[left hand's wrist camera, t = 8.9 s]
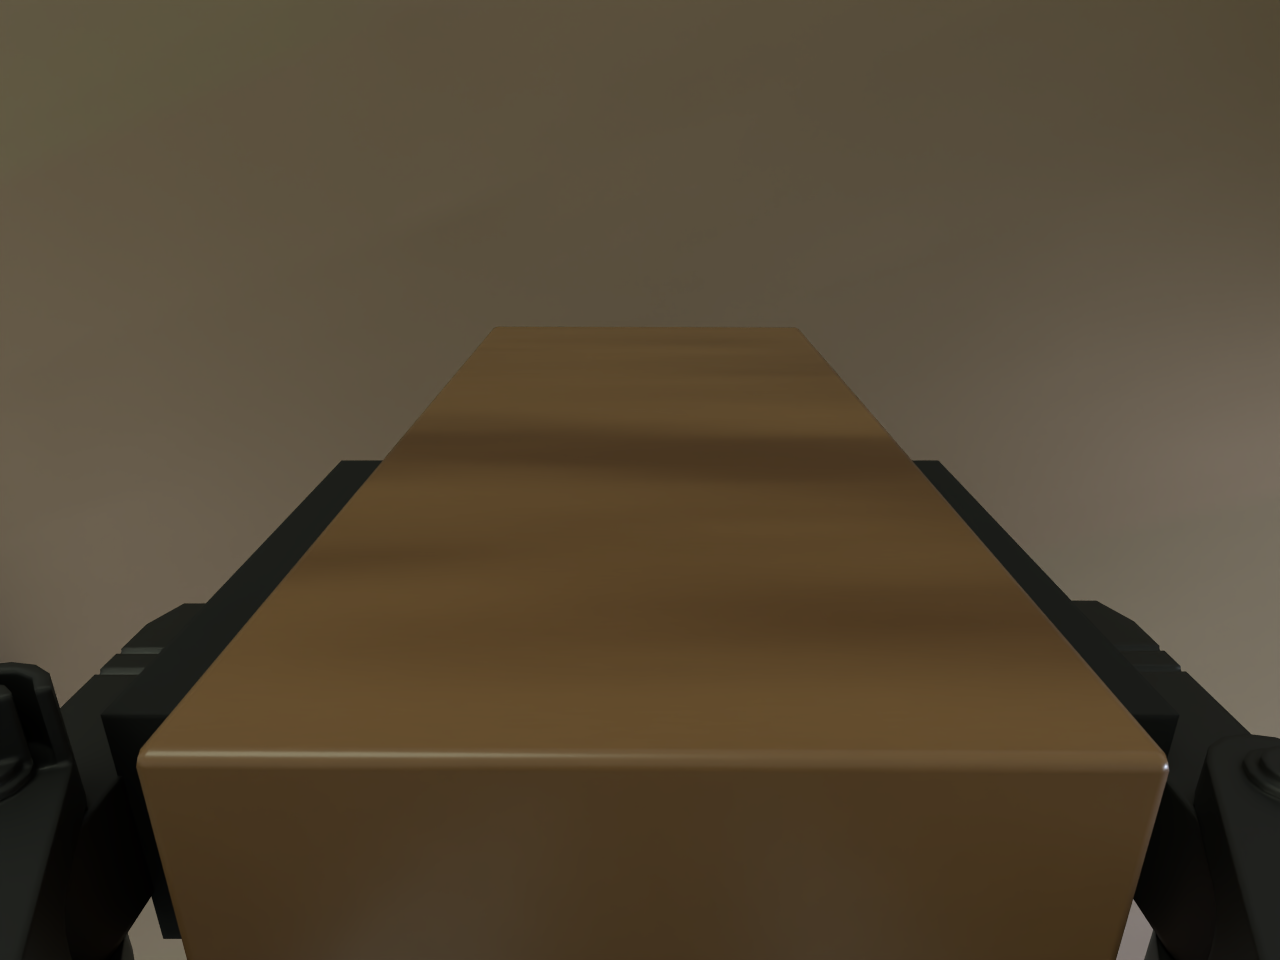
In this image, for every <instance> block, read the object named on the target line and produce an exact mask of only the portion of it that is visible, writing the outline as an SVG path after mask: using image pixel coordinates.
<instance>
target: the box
mask: <svg viewBox="0 0 1280 960" xmlns="http://www.w3.org/2000/svg"><path fill="white" fill-rule="evenodd" d="M136 768H137V772H138V775H139V779H140V783H141V787H142V790H143V794H144V798H145V802H146V806H147V809H148V813H149V817H150V821H151V825H152V828H153V832H154V836H155V840H156V843H157V847H158V851H159V855H160V859H161V862H162V866H163V870H164V874H165V878H166V881H167V885H168V889H169V893H170V896H171V900H172V904H173V908H174V912H175V915H176V919H177V923H178V927H179V930H180V934H181V938H182V942H183V946H184V949H185V953H186V957H187V960H1116V957H1117V954H1118V950H1119V947H1120V943H1121V940H1122V936H1123V933H1124V929H1125V926H1126V922H1127V918H1128V915H1129V911H1130V908H1131V904H1132V901H1133V897H1134V894H1135V890H1136V887H1137V883H1138V880H1139V876H1140V873H1141V869H1142V866H1143V862H1144V858H1145V855H1146V851H1147V848H1148V844H1149V841H1150V837H1151V834H1152V830H1153V827H1154V823H1155V820H1156V816H1157V813H1158V809H1159V805H1160V802H1161V798H1162V795H1163V791H1164V788H1165V784H1166V781H1167V777H1168V774H1169V766H1168V761H1167V758H1166V755H1165V753H1164V752H1163V751H1162V750H1161V748H1160V747H1159V746H1158V745H1157V744H1156V743H1155V741H1154V740H1153V739H1152V738H1151V737H1150V736H1149V734H1148V733H1147V732H1146V731H1145V730H1144V729H1143V728H1142V726H1141V725H1140V724H1139V723H1138V722H1137V721H1136V719H1135V718H1134V717H1133V716H1132V715H1131V714H1130V712H1129V711H1128V710H1127V709H1126V708H1125V707H1124V706H1123V704H1122V703H1121V702H1120V701H1119V700H1118V699H1117V697H1116V696H1115V695H1114V694H1113V693H1112V692H1111V690H1110V689H1109V688H1108V687H1107V686H1106V685H1105V684H1104V682H1103V681H1102V680H1101V679H1100V678H1099V677H1098V675H1097V674H1096V673H1095V672H1094V671H1093V670H1092V668H1091V667H1090V666H1089V665H1088V664H1087V663H1086V662H1085V660H1084V659H1083V658H1082V657H1081V656H1080V655H1079V653H1078V652H1077V651H1076V650H1075V649H1074V648H1073V646H1072V645H1071V644H1070V643H1069V642H1068V641H1067V640H1066V638H1065V637H1064V636H1063V635H1062V634H1061V633H1060V631H1059V630H1058V629H1057V628H1056V627H1055V626H1054V624H1053V623H1052V622H1051V621H1050V620H1049V619H1048V618H1047V616H1046V615H1045V614H1044V613H1043V612H1042V611H1041V609H1040V608H1039V607H1038V606H1037V605H1036V604H1035V602H1034V601H1033V600H1032V599H1031V598H1030V597H1029V596H1028V594H1027V593H1026V592H1025V591H1024V590H1023V589H1022V587H1021V586H1020V585H1019V584H1018V583H1017V582H1016V580H1015V579H1014V578H1013V577H1012V576H1011V575H1010V574H1009V572H1008V571H1007V570H1006V569H1005V568H1004V567H1003V565H1002V564H1001V563H1000V562H999V561H998V560H997V558H996V557H995V556H994V555H993V554H992V553H991V552H990V550H989V549H988V548H987V547H986V546H985V545H984V543H983V542H982V541H981V540H980V539H979V538H978V536H977V535H976V534H975V533H974V532H973V531H972V530H971V528H970V527H969V526H968V525H967V524H966V523H965V521H964V520H963V519H962V518H961V517H960V516H959V514H958V513H957V512H956V511H955V510H954V509H953V508H952V506H951V505H950V504H949V503H948V502H947V501H946V499H945V498H944V497H943V496H942V495H941V494H940V492H939V491H938V490H937V489H936V488H935V487H934V486H933V484H932V483H931V482H930V481H929V480H928V479H927V477H926V476H925V475H924V474H923V473H922V472H921V470H920V469H919V468H918V467H917V466H916V465H915V464H914V462H913V461H912V460H911V459H910V458H909V457H908V455H907V454H906V453H905V452H904V451H903V450H902V448H901V447H900V446H899V445H898V444H897V443H896V442H895V440H894V439H893V438H892V437H891V436H890V435H889V433H888V432H887V431H886V430H885V429H884V428H883V426H882V425H881V424H880V423H879V422H878V421H877V420H876V418H875V417H874V416H873V415H872V414H871V413H870V411H869V410H868V409H867V408H866V407H865V406H864V404H863V403H862V402H861V401H860V400H859V399H858V398H857V396H856V395H855V394H854V393H853V392H852V391H851V389H850V388H849V387H848V386H847V385H846V384H845V382H844V381H843V380H842V379H841V378H840V377H839V376H838V374H837V373H836V372H835V371H834V370H833V369H832V367H831V366H830V365H829V364H828V363H827V362H826V360H825V359H824V358H823V357H822V356H821V355H820V354H819V352H818V351H817V350H816V349H815V348H814V347H813V345H812V344H811V343H810V342H809V341H808V340H807V338H806V337H805V336H804V335H803V334H802V333H801V332H800V330H799V329H797V328H734V327H496V328H494V329H493V330H492V331H491V332H490V334H489V335H488V336H487V337H486V338H485V339H484V341H483V342H482V343H481V344H480V345H479V347H478V348H477V349H476V350H475V351H474V353H473V354H472V355H471V356H470V357H469V359H468V360H467V361H466V362H465V363H464V364H463V366H462V367H461V368H460V369H459V370H458V372H457V373H456V374H455V375H454V376H453V378H452V379H451V380H450V381H449V382H448V384H447V385H446V386H445V387H444V388H443V389H442V391H441V392H440V393H439V394H438V395H437V397H436V398H435V399H434V400H433V401H432V403H431V404H430V405H429V406H428V407H427V409H426V410H425V411H424V412H423V413H422V414H421V416H420V417H419V418H418V419H417V420H416V422H415V423H414V424H413V425H412V426H411V428H410V429H409V430H408V431H407V432H406V434H405V435H404V436H403V437H402V438H401V439H400V441H399V442H398V443H397V444H396V445H395V447H394V448H393V449H392V450H391V451H390V453H389V454H388V455H387V456H386V457H385V459H384V460H383V461H382V462H381V463H380V464H379V466H378V467H377V468H376V469H375V470H374V472H373V473H372V474H371V475H370V476H369V478H368V479H367V480H366V481H365V482H364V484H363V485H362V486H361V487H360V488H359V489H358V491H357V492H356V493H355V494H354V495H353V497H352V498H351V499H350V500H349V501H348V503H347V504H346V505H345V506H344V507H343V509H342V510H341V511H340V512H339V513H338V514H337V516H336V517H335V518H334V519H333V520H332V522H331V523H330V524H329V525H328V526H327V528H326V529H325V530H324V531H323V532H322V534H321V535H320V536H319V537H318V538H317V539H316V541H315V542H314V543H313V544H312V545H311V547H310V548H309V549H308V550H307V551H306V553H305V554H304V555H303V556H302V557H301V559H300V560H299V561H298V562H297V563H296V564H295V566H294V567H293V568H292V569H291V570H290V572H289V573H288V574H287V575H286V576H285V578H284V579H283V580H282V581H281V582H280V584H279V585H278V586H277V587H276V588H275V589H274V591H273V592H272V593H271V594H270V595H269V597H268V598H267V599H266V600H265V601H264V603H263V604H262V605H261V606H260V607H259V609H258V610H257V611H256V612H255V613H254V614H253V616H252V617H251V618H250V619H249V620H248V622H247V623H246V624H245V625H244V626H243V628H242V629H241V630H240V631H239V632H238V634H237V635H236V636H235V637H234V638H233V639H232V641H231V642H230V643H229V644H228V645H227V647H226V648H225V649H224V650H223V651H222V653H221V654H220V655H219V656H218V657H217V659H216V660H215V661H214V662H213V663H212V664H211V666H210V667H209V668H208V669H207V670H206V672H205V673H204V674H203V675H202V676H201V678H200V679H199V680H198V681H197V682H196V684H195V685H194V686H193V687H192V688H191V690H190V691H189V692H188V693H187V694H186V695H185V697H184V698H183V699H182V700H181V701H180V703H179V704H178V705H177V706H176V707H175V709H174V710H173V711H172V712H171V713H170V715H169V716H168V717H167V718H166V719H165V720H164V722H163V723H162V724H161V725H160V726H159V728H158V729H157V730H156V731H155V732H154V734H153V735H152V736H151V737H150V738H149V740H148V741H147V742H146V743H145V744H144V745H143V747H142V748H141V749H140V752H139V755H138V758H137V765H136Z"/></svg>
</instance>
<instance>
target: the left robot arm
mask: <svg viewBox="0 0 1280 960" xmlns="http://www.w3.org/2000/svg"><path fill="white" fill-rule="evenodd" d="M381 462H382V461H341V462H340V463H339V464H338V465H337V466H336V467H335V468H334V469H333V470H332V471H331V472H330V473H329V474H328V475H327V476H326V478H325V479H324V480H323V481H322V482H321V483H320V484H319V485H318V486H317V487H316V488H315V489H314V490H313V491H312V492H311V493H310V494H309V495H308V497H307V498H306V499H305V500H304V501H303V502H302V503H301V504H300V505H299V506H298V507H297V508H296V509H295V510H294V511H293V512H292V513H291V514H290V515H289V517H288V518H287V519H286V520H285V521H284V522H283V523H282V524H281V525H280V526H279V527H278V528H277V529H276V530H275V531H274V532H273V533H272V534H271V536H270V537H269V538H268V539H267V540H266V541H265V542H264V543H263V544H262V545H261V546H260V547H259V548H258V549H257V550H256V551H255V552H254V553H253V554H252V556H251V557H250V558H249V559H248V560H247V561H246V562H245V563H244V564H243V565H242V566H241V567H240V568H239V569H238V570H237V571H236V572H235V573H234V575H233V576H232V577H231V578H230V579H229V580H228V581H227V582H226V583H225V584H224V585H223V586H222V587H221V588H220V589H219V590H218V591H217V592H216V593H215V595H214V596H213V597H212V598H211V599H210V600H209V601H208V602H207V603H206V604H182V605H181V606H179V607H177V608H175V609H173V610H172V611H170V612H168V613H166V614H164V615H163V616H161V617H159V618H157V619H156V620H154V621H152V622H150V623H148V624H147V625H146V626H145V627H143V628H142V629H141V630H140V631H139V632H138V633H137V634H136V635H135V636H134V637H133V638H132V639H131V640H130V641H129V642H128V643H127V644H126V645H125V646H124V647H123V648H122V649H121V654H116V655H115V656H114V657H113V658H112V659H110V660H109V661H108V662H107V663H106V664H105V665H104V666H103V667H102V668H101V669H100V675H94V676H93V677H92V678H91V679H90V680H89V681H88V682H87V683H86V684H85V685H84V686H83V687H82V688H81V689H80V690H79V691H77V692H76V693H75V694H74V695H73V696H72V697H71V698H70V699H69V700H68V701H67V702H66V703H65V704H64V705H63V706H62V707H61V708H60V707H59V704H58V700H57V697H56V694H55V691H54V687H53V684H52V681H51V677H50V674H49V673H48V672H46V671H45V670H43V669H41V668H40V667H38V666H37V665H32V664H23V663H14V662H9V663H0V960H134V955H133V949H132V946H131V942H130V939H129V936H128V931H129V930H130V928H131V927H132V925H133V924H134V922H135V920H136V919H137V917H138V916H139V914H140V913H141V911H142V910H143V908H144V907H145V905H146V904H147V902H148V901H149V899H150V897H151V896H152V900H153V904H154V907H155V911H156V914H157V918H158V921H159V925H160V928H161V932H162V935H163V939H182V938H181V934H180V930H179V927H178V923H177V919H176V915H175V912H174V908H173V904H172V900H171V896H170V893H169V889H168V885H167V881H166V878H165V874H164V870H163V866H162V862H161V859H160V855H159V851H158V847H157V843H156V840H155V836H154V832H153V828H152V825H151V821H150V817H149V813H148V809H147V806H146V802H145V798H144V794H143V790H142V787H141V783H140V779H139V775H138V772H137V768H136V765H137V758H138V755H139V752H140V749H141V748H142V747H143V745H144V744H145V743H146V742H147V741H148V740H149V738H150V737H151V736H152V735H153V734H154V732H155V731H156V730H157V729H158V728H159V726H160V725H161V724H162V723H163V722H164V720H165V719H166V718H167V717H168V716H169V715H170V713H171V712H172V711H173V710H174V709H175V707H176V706H177V705H178V704H179V703H180V701H181V700H182V699H183V698H184V697H185V695H186V694H187V693H188V692H189V691H190V690H191V688H192V687H193V686H194V685H195V684H196V682H197V681H198V680H199V679H200V678H201V676H202V675H203V674H204V673H205V672H206V670H207V669H208V668H209V667H210V666H211V664H212V663H213V662H214V661H215V660H216V659H217V657H218V656H219V655H220V654H221V653H222V651H223V650H224V649H225V648H226V647H227V645H228V644H229V643H230V642H231V641H232V639H233V638H234V637H235V636H236V635H237V634H238V632H239V631H240V630H241V629H242V628H243V626H244V625H245V624H246V623H247V622H248V620H249V619H250V618H251V617H252V616H253V614H254V613H255V612H256V611H257V610H258V609H259V607H260V606H261V605H262V604H263V603H264V601H265V600H266V599H267V598H268V597H269V595H270V594H271V593H272V592H273V591H274V589H275V588H276V587H277V586H278V585H279V584H280V582H281V581H282V580H283V579H284V578H285V576H286V575H287V574H288V573H289V572H290V570H291V569H292V568H293V567H294V566H295V564H296V563H297V562H298V561H299V560H300V559H301V557H302V556H303V555H304V554H305V553H306V551H307V550H308V549H309V548H310V547H311V545H312V544H313V543H314V542H315V541H316V539H317V538H318V537H319V536H320V535H321V534H322V532H323V531H324V530H325V529H326V528H327V526H328V525H329V524H330V523H331V522H332V520H333V519H334V518H335V517H336V516H337V514H338V513H339V512H340V511H341V510H342V509H343V507H344V506H345V505H346V504H347V503H348V501H349V500H350V499H351V498H352V497H353V495H354V494H355V493H356V492H357V491H358V489H359V488H360V487H361V486H362V485H363V484H364V482H365V481H366V480H367V479H368V478H369V476H370V475H371V474H372V473H373V472H374V470H375V469H376V468H377V467H378V466H379V464H380V463H381ZM913 462H914V464H915V465H916V466H917V467H918V468H919V469H920V470H921V472H922V473H923V474H924V475H925V476H926V477H927V479H928V480H929V481H930V482H931V483H932V484H933V486H934V487H935V488H936V489H937V490H938V491H939V492H940V494H941V495H942V496H943V497H944V498H945V499H946V501H947V502H948V503H949V504H950V505H951V506H952V508H953V509H954V510H955V511H956V512H957V513H958V514H959V516H960V517H961V518H962V519H963V520H964V521H965V523H966V524H967V525H968V526H969V527H970V528H971V530H972V531H973V532H974V533H975V534H976V535H977V536H978V538H979V539H980V540H981V541H982V542H983V543H984V545H985V546H986V547H987V548H988V549H989V550H990V552H991V553H992V554H993V555H994V556H995V557H996V558H997V560H998V561H999V562H1000V563H1001V564H1002V565H1003V567H1004V568H1005V569H1006V570H1007V571H1008V572H1009V574H1010V575H1011V576H1012V577H1013V578H1014V579H1015V580H1016V582H1017V583H1018V584H1019V585H1020V586H1021V587H1022V589H1023V590H1024V591H1025V592H1026V593H1027V594H1028V596H1029V597H1030V598H1031V599H1032V600H1033V601H1034V602H1035V604H1036V605H1037V606H1038V607H1039V608H1040V609H1041V611H1042V612H1043V613H1044V614H1045V615H1046V616H1047V618H1048V619H1049V620H1050V621H1051V622H1052V623H1053V624H1054V626H1055V627H1056V628H1057V629H1058V630H1059V631H1060V633H1061V634H1062V635H1063V636H1064V637H1065V638H1066V640H1067V641H1068V642H1069V643H1070V644H1071V645H1072V646H1073V648H1074V649H1075V650H1076V651H1077V652H1078V653H1079V655H1080V656H1081V657H1082V658H1083V659H1084V660H1085V662H1086V663H1087V664H1088V665H1089V666H1090V667H1091V668H1092V670H1093V671H1094V672H1095V673H1096V674H1097V675H1098V677H1099V678H1100V679H1101V680H1102V681H1103V682H1104V684H1105V685H1106V686H1107V687H1108V688H1109V689H1110V690H1111V692H1112V693H1113V694H1114V695H1115V696H1116V697H1117V699H1118V700H1119V701H1120V702H1121V703H1122V704H1123V706H1124V707H1125V708H1126V709H1127V710H1128V711H1129V712H1130V714H1131V715H1132V716H1133V717H1134V718H1135V719H1136V721H1137V722H1138V723H1139V724H1140V725H1141V726H1142V728H1143V729H1144V730H1145V731H1146V732H1147V733H1148V734H1149V736H1150V737H1151V738H1152V739H1153V740H1154V741H1155V743H1156V744H1157V745H1158V746H1159V747H1160V748H1161V750H1162V751H1163V752H1164V753H1165V755H1166V758H1167V761H1168V766H1169V774H1168V777H1167V781H1166V784H1165V788H1164V791H1163V795H1162V798H1161V802H1160V805H1159V809H1158V813H1157V816H1156V820H1155V823H1154V827H1153V830H1152V834H1151V837H1150V841H1149V844H1148V848H1147V851H1146V855H1145V858H1144V862H1143V866H1142V869H1141V873H1140V876H1139V880H1138V883H1137V887H1136V890H1135V894H1134V897H1133V899H1134V901H1135V902H1136V904H1137V905H1138V907H1139V908H1140V910H1141V911H1142V913H1143V914H1144V916H1145V917H1146V919H1147V920H1148V922H1149V924H1150V925H1151V927H1152V928H1153V932H1152V936H1151V939H1150V942H1149V946H1148V949H1147V952H1146V956H1145V959H1144V960H1280V739H1279V738H1276V737H1268V736H1260V735H1252V734H1250V733H1249V732H1248V731H1247V730H1246V729H1245V728H1244V727H1243V726H1242V725H1241V724H1240V723H1239V722H1238V721H1237V720H1236V719H1235V718H1234V717H1233V716H1232V715H1231V714H1230V713H1229V712H1228V711H1226V710H1225V709H1224V708H1223V707H1222V706H1221V705H1220V704H1219V703H1218V702H1217V701H1216V700H1215V699H1214V698H1213V697H1212V696H1211V695H1210V694H1209V693H1208V692H1207V691H1206V690H1205V689H1204V688H1203V687H1202V686H1201V685H1199V684H1198V683H1197V682H1196V681H1195V680H1194V679H1193V678H1192V677H1191V676H1190V675H1189V674H1188V673H1187V672H1181V669H1180V667H1181V666H1180V665H1179V664H1178V663H1177V662H1176V661H1175V660H1173V659H1172V658H1171V657H1170V656H1169V655H1168V654H1167V653H1166V652H1165V651H1160V649H1159V645H1158V644H1157V643H1156V642H1155V641H1154V640H1153V639H1152V638H1151V637H1150V636H1149V635H1148V634H1146V633H1145V632H1144V631H1143V630H1142V629H1141V628H1140V627H1139V626H1138V625H1137V624H1136V623H1135V622H1134V621H1132V620H1130V619H1129V618H1127V617H1125V616H1123V615H1121V614H1120V613H1118V612H1116V611H1114V610H1112V609H1110V608H1109V607H1107V606H1105V605H1103V604H1101V603H1100V602H1098V601H1071V600H1070V599H1069V598H1068V597H1067V596H1066V595H1065V594H1064V592H1063V591H1062V590H1061V589H1060V588H1059V587H1058V586H1057V585H1056V584H1055V583H1054V582H1053V581H1052V580H1051V579H1050V578H1049V577H1048V576H1047V575H1046V573H1045V572H1044V571H1043V570H1042V569H1041V568H1040V567H1039V566H1038V565H1037V564H1036V563H1035V562H1034V561H1033V560H1032V559H1031V558H1030V557H1029V556H1028V555H1027V553H1026V552H1025V551H1024V550H1023V549H1022V548H1021V547H1020V546H1019V545H1018V544H1017V543H1016V542H1015V541H1014V540H1013V539H1012V538H1011V537H1010V536H1009V534H1008V533H1007V532H1006V531H1005V530H1004V529H1003V528H1002V527H1001V526H1000V525H999V524H998V523H997V522H996V521H995V520H994V519H993V518H992V517H991V516H990V514H989V513H988V512H987V511H986V510H985V509H984V508H983V507H982V506H981V505H980V504H979V503H978V502H977V501H976V500H975V499H974V498H973V497H972V495H971V494H970V493H969V492H968V491H967V490H966V489H965V488H964V487H963V486H962V485H961V484H960V483H959V482H958V481H957V480H956V479H955V478H954V477H953V475H952V474H951V473H950V472H949V471H948V470H947V469H946V468H945V467H944V466H943V465H942V464H941V463H940V462H939V461H913Z"/></svg>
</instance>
